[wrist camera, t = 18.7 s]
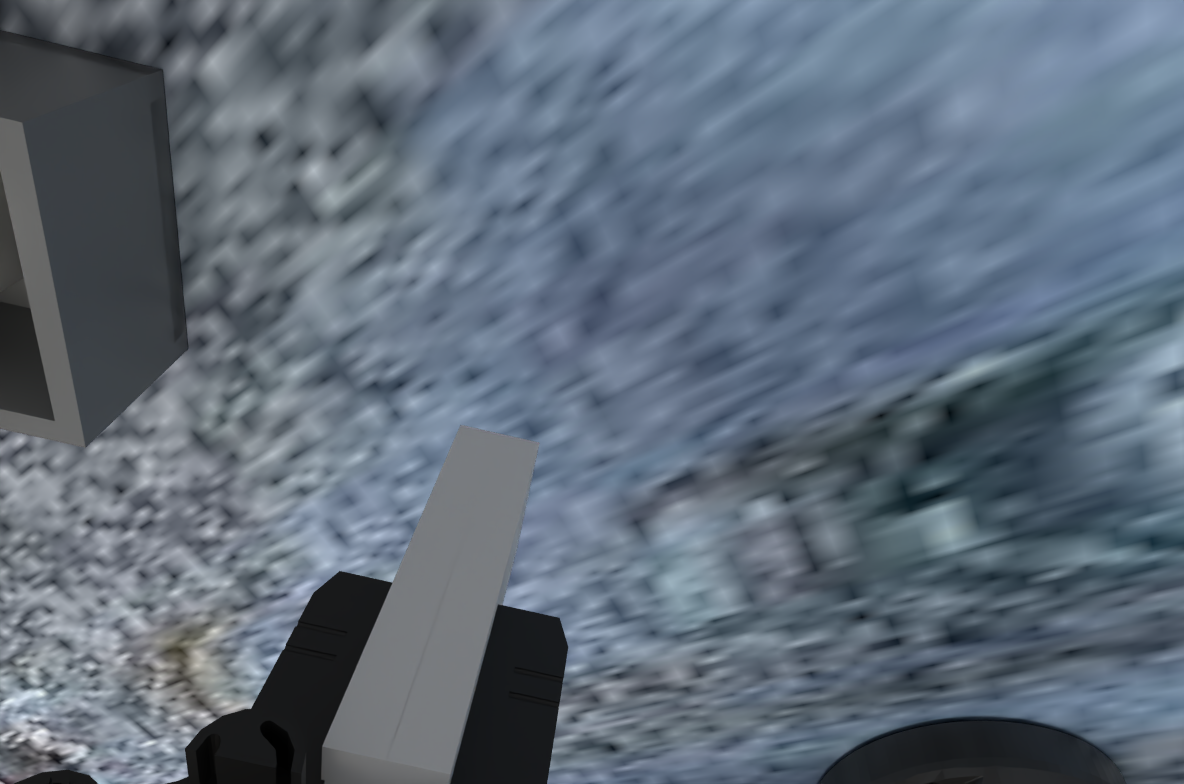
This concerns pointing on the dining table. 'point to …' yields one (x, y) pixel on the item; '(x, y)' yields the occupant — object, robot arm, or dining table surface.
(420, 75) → the dining table surface
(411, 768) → the robot arm
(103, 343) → the tray
